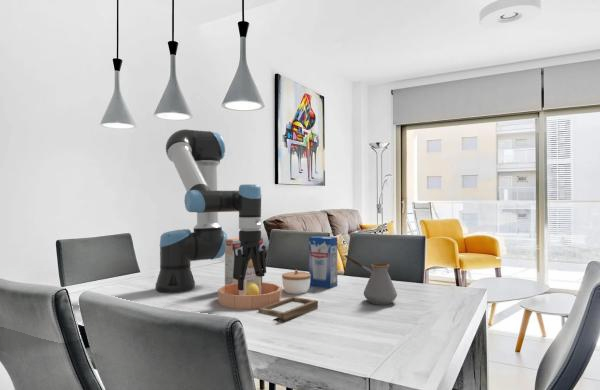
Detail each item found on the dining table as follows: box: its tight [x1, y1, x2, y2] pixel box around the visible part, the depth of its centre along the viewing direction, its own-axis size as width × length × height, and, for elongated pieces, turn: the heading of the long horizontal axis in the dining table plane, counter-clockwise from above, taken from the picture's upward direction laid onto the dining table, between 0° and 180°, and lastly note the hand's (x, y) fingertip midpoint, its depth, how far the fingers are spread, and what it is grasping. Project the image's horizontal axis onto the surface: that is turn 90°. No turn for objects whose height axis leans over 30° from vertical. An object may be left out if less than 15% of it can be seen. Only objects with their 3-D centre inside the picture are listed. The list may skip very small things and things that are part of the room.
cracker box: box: [224, 237, 264, 286], centre depth 156 cm, size 14×6×21 cm, turn 131°
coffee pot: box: [342, 254, 398, 306], centre depth 144 cm, size 21×12×15 cm, turn 47°
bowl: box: [217, 281, 283, 310], centre depth 138 cm, size 21×21×6 cm
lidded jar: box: [281, 269, 311, 295], centre depth 151 cm, size 11×11×9 cm
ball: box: [246, 282, 259, 295], centre depth 138 cm, size 6×6×6 cm
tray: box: [257, 296, 319, 323], centre depth 128 cm, size 10×18×2 cm, turn 145°
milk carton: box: [308, 235, 338, 290], centre depth 167 cm, size 10×6×20 cm, turn 58°
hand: (250, 297), depth 138 cm, fingers open, 7 cm apart
